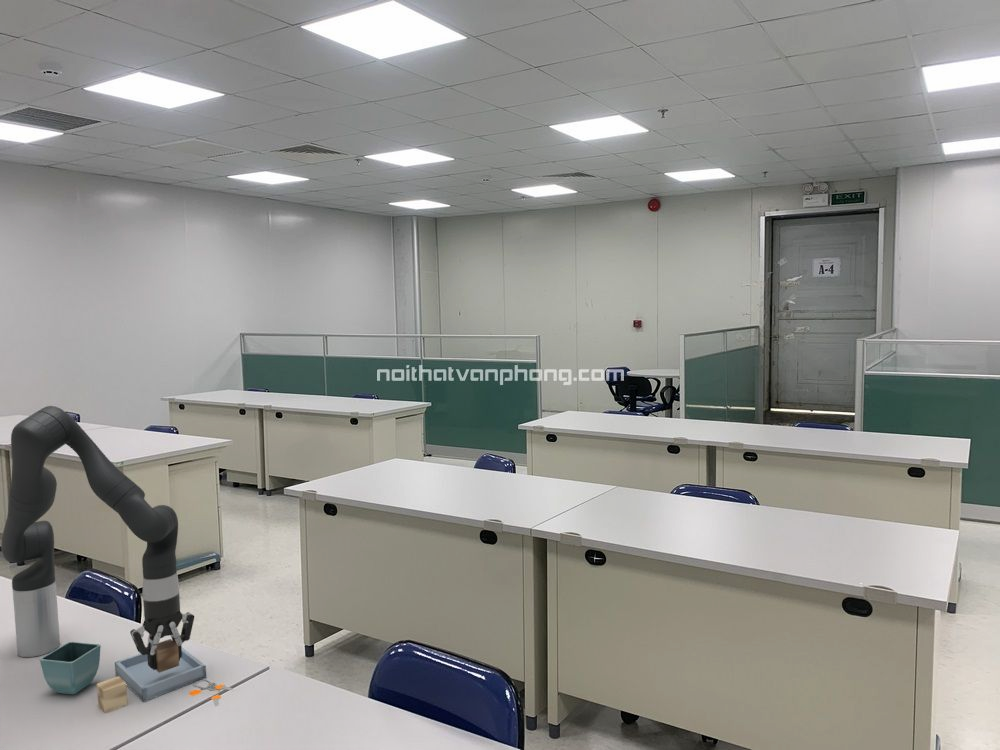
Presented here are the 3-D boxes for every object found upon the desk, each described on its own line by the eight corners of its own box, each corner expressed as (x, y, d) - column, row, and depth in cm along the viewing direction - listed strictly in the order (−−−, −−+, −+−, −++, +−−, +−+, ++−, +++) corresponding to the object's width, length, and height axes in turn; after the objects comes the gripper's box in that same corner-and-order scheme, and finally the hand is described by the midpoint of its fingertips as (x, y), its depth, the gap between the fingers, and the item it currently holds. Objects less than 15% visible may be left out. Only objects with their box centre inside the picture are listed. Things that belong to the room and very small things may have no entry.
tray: (115, 674, 166) (114, 662, 166) (175, 653, 176) (174, 641, 176) (143, 702, 154) (142, 689, 154) (206, 677, 164) (205, 665, 164)
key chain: (179, 693, 158) (179, 689, 158) (207, 678, 164) (207, 675, 164) (214, 709, 151) (214, 705, 151) (242, 693, 158) (242, 689, 157)
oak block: (98, 705, 153) (96, 683, 153) (120, 697, 156) (118, 676, 156) (105, 713, 150) (103, 691, 150) (127, 704, 153) (126, 682, 153)
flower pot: (74, 701, 155) (71, 662, 154) (41, 697, 157) (38, 659, 156) (104, 680, 163) (101, 644, 163) (72, 677, 165) (69, 641, 164)
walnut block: (159, 672, 159) (157, 651, 158) (151, 666, 162) (150, 645, 161) (179, 665, 162) (178, 644, 161) (171, 659, 165) (170, 638, 165)
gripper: (134, 607, 153) (138, 682, 154) (199, 588, 163) (203, 658, 164) (122, 598, 158) (126, 670, 159) (186, 580, 168) (189, 648, 170)
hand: (165, 664), depth 162 cm, fingers closed on walnut block, 4 cm apart
